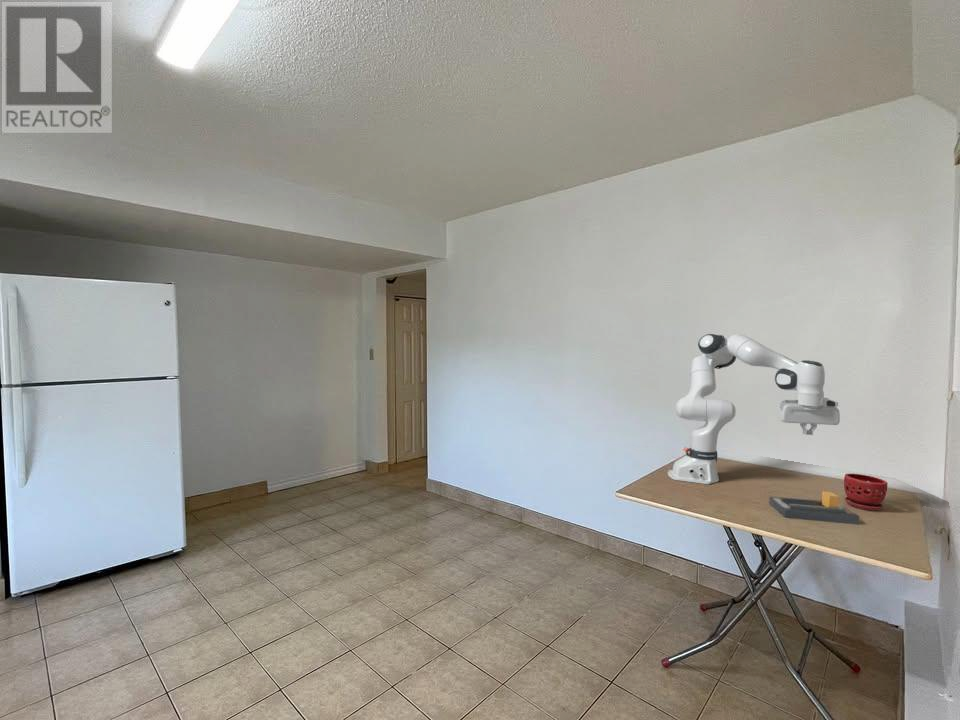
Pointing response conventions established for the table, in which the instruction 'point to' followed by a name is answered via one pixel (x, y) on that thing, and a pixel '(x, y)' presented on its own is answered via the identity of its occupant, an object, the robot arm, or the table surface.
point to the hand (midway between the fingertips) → (808, 434)
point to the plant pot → (864, 491)
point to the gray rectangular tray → (812, 510)
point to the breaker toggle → (830, 499)
